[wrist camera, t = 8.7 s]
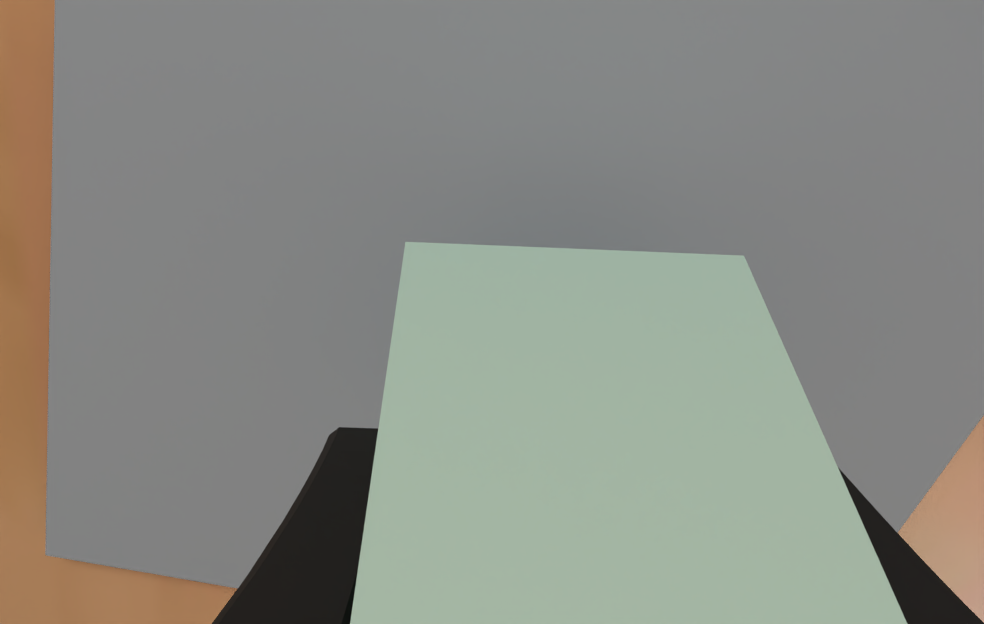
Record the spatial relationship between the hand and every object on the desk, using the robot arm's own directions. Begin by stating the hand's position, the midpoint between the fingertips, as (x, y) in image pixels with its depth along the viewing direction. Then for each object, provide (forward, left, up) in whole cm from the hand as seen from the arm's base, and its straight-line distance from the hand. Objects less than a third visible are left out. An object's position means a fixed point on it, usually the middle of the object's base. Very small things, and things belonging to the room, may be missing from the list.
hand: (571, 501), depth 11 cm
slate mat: (0, 0, -4) cm, 4 cm away
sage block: (0, 0, -2) cm, 2 cm away
